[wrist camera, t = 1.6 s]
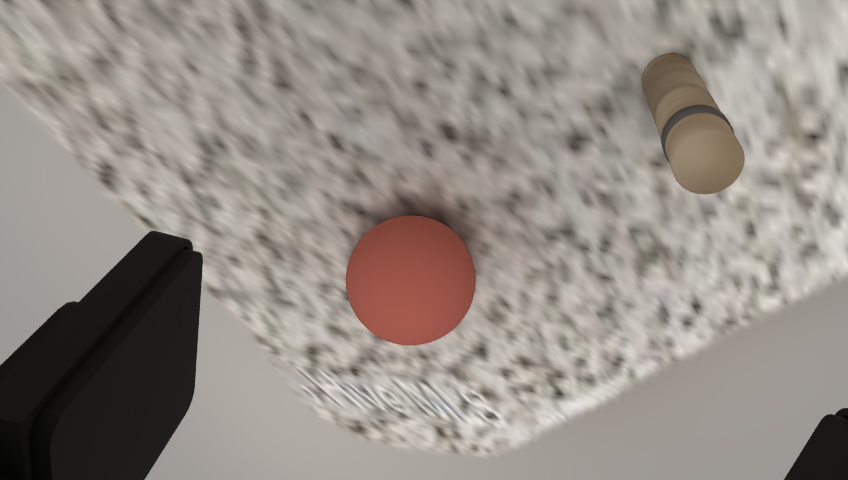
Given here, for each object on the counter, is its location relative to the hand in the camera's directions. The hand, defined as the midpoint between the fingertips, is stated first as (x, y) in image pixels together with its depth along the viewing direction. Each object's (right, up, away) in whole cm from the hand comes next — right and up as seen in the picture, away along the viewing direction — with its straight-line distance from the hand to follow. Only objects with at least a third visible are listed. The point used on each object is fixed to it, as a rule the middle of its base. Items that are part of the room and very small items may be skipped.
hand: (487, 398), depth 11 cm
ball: (-2, 0, +24) cm, 24 cm away
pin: (+9, +9, +21) cm, 25 cm away
